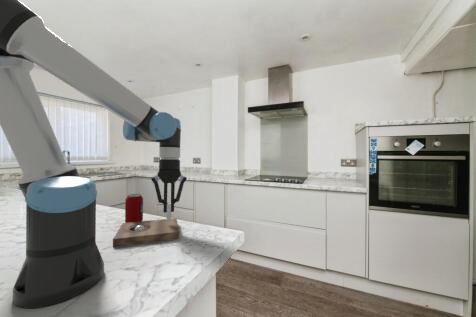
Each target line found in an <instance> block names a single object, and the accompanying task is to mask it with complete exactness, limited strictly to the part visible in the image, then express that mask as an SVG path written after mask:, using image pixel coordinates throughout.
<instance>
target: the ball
mask: <svg viewBox="0 0 476 317" xmlns="http://www.w3.org/2000/svg"><path fill="white" fill-rule="evenodd" d="M142 229H144V226H142V225H138V226H136V227H135V229H134V231H139V230H142Z"/></svg>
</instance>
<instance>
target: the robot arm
mask: <svg viewBox="0 0 476 317" xmlns="http://www.w3.org/2000/svg"><path fill="white" fill-rule="evenodd" d="M35 65H36V66H38V67H40V68H41V69H43V70H45V71H46V72H47V73H49V74H50V75H53V76H54V77H55V78H57V79H58V80H60V81H62V82H63V83H65V84H67V85H69V87H71V88H73V89H74V90H76V91H77V92H79V93H81V94H82V95H84V96H85V97H87V98H89V99H91V101H93V102H94V103H96V104H98V105H100V106H101V107H103V108H105V109H106V110H107V111H109V112H111V113H112V114H114V115H115V116H116V117H118V118H120V119H122V120H123V125H122V134H123V139H125V140H126V141H133V142H147V143H159V156H158V157H159V158H160V159H159V160H158V172H157V174H156V175H154V176H152V177H151V179H150V180H151V182H152V183H153V184H154V188H155V193H156V197H157V201H158V203H159V204H162V205H163V213H166V218H165V219H166V220H167V222H171V219H172V213H173V212H174V211H175V204H176V203H178V202H179V201H180V199H181V196H182V191H183V189H184V184H185V182H186V181H187V179H188V178H187V176H184V175H183V174H182V172H181V167H180V166H181V160H180V158H181V132H182V128H181V127H182V126H181V120H180V119H178V118H176V117H173V115H171V113H168V112H164V111H158V110H157V109H155V108H154V107H153V106H151V105H149V103H147V102H146V101H144V99H142V98H141V97H139V96H138V95H137V94H135V93H134V92H132V91H131V90H130V89H129V88H127V87H126V85H123V84H122V83H121V82H119V81H118V80H117V79H115V78H114V77H112V76H111V75H110V74H109V73H107V72H106V70H105V71H104V69H102V68H101V67H99V66H98V65H96V64H95V63H94V62H92V61H91V60H90V59H89V58H87V57H86V56H84V55H83V54H82V53H80V51H78V50H77V49H75V48H74V47H73V46H71V45H70V44H68V43H67V42H66V41H65V40H64V39H62V38H61V37H59V36H58V35H57V34H55V33H54V32H52V30H50V29H49V28H48V27H47V26H46V25H45V23H44V20H43V18H42V17H41V16H39V15H38V14H37V13H35V12H34V11H33V10H32V9H30V8H29V7H28V6H26V5H25V4H24V3H23V2H21V1H20V0H0V128H1V130H2V132H3V134H4V136H5V138H6V141H7V142H8V145H9V146H10V149H11V151H12V153H13V155H14V157H15V159H16V161H17V164H18V166H19V168H20V171H21V172H22V175H21V177H20V179H19V180H18V181H17V184H18V187H19V188H20V190H21V193H22V195H23V197H24V202H25V203H26V206H25V208H26V211H25V214H26V217H25V219H26V221H25V222H26V223H25V224H26V226H25V227H26V228H25V230H26V231H25V232H26V233H25V234H26V235H25V239H26V240H25V259H24V262H23V264H22V266H21V269H20V271H19V273H18V276H17V278H16V280H15V283H14V285H13V287H12V302H13V305H15V306H16V307H19V308H24V309H35V308H42V307H48V306H51V305H55V304H60V303H62V302H65V301H68V300H70V299H72V297H73V298H75V297H77V296H79V295H81V294H83V293H86V291H88V290H90V289H92V288H93V287H94V286H96V285H97V284H98V283H99V282H100V281H101V279H102V278H103V277H104V275H105V263H104V262H105V261H104V259H103V257H102V255H101V252H100V250H99V247H98V245H97V241H96V235H97V234H96V233H97V231H96V227H97V226H96V222H97V221H96V219H97V218H96V217H97V215H96V214H97V213H96V212H97V197H98V196H97V195H98V192H97V186H96V182H95V181H94V180H93V179H91V178H88V177H81V176H80V174H79V172H78V170H77V167H76V166H74V165H71V164H70V163H67V161H66V159H65V156H64V154H63V151H62V149H61V146H60V144H59V141H58V139H57V137H56V135H55V132H54V129H53V127H52V123H51V122H50V119H49V117H48V115H47V113H46V110H45V108H44V105H43V103H42V100H41V98H40V96H39V92H38V91H37V88H36V86H35V84H34V81H33V78H32V76H31V74H30V73H31V71H33V69H34V68H35ZM159 179H160V180H161V182H162V183H163V198H162V195H161V189H160V185H159ZM178 180H180V182H179V185H178V189H177V192H176V196H175V191H176V190H175V189H176V188H175V186H176V185H175V184H176V182H177V181H178ZM168 184H170V202H168ZM67 299H68V300H67Z"/></svg>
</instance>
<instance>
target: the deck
mask: <svg viewBox="0 0 476 317" xmlns="http://www.w3.org/2000/svg"><path fill="white" fill-rule="evenodd" d="M166 219H167V218H164V219H163V218H162V219H153V220H152V219H151V220H143V221H140V222H128V223H125V222H123V223H122V224H121V225H120V227H119V228H118V230H117V231H116V233H115V235H114V237H113V239H112V248H115V247H124V246H132V245H141V244H148V243H155V242H164V241H165V242H166V241H172V240H179V239H180V237H179V236H180V230H179V224H178V220H177V217H175V218H171V222H167V220H166ZM138 225H142V226H144V229H142V230H139V231H134V229H135V227H136V226H138Z"/></svg>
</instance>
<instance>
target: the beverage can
mask: <svg viewBox="0 0 476 317" xmlns="http://www.w3.org/2000/svg"><path fill="white" fill-rule="evenodd" d="M124 203H125V204H124V211H125V212H124V223H128V222H140V221H144V198H143V196H142V194H141V193H131V194H127V196H126V198H125V202H124Z"/></svg>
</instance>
